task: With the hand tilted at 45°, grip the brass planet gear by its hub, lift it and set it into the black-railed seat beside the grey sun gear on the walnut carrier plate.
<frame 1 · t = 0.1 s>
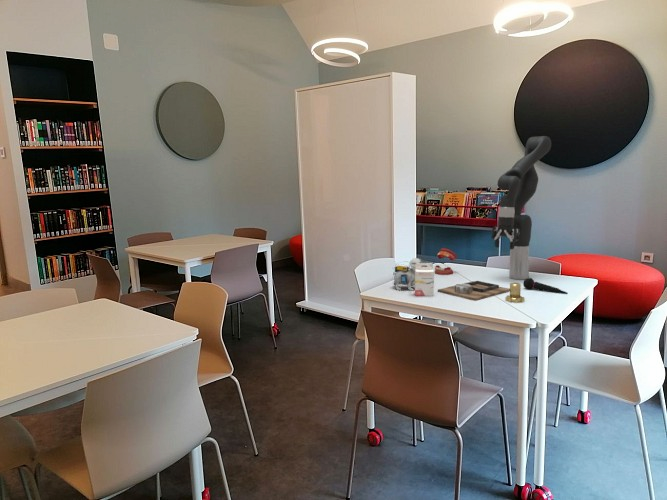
hand: (504, 248, 249), 17 cm above the table, tool pointing down, fingers open, 8 cm apart
carrier plate: (473, 291, 235), on the table
anatomical model: (444, 273, 276), on the table
robotic toy: (409, 288, 244), on the table
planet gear: (514, 300, 217), on the table
ink cartridge box: (424, 295, 231), on the table
microphone: (543, 292, 232), on the table
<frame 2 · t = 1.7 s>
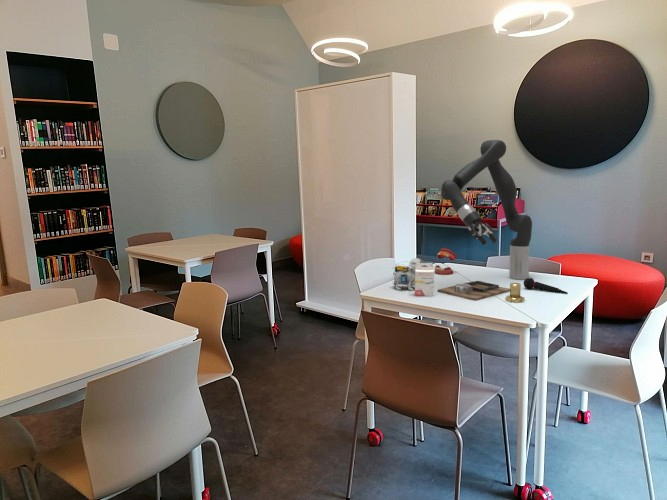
hand: (490, 242, 222), 24 cm above the table, tool tilted 45°, fingers open, 8 cm apart
nothing on the table moved.
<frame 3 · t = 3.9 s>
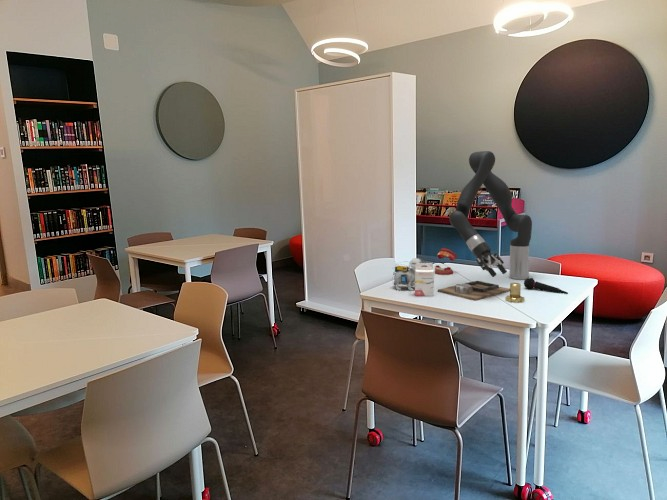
hand: (500, 274, 221), 11 cm above the table, tool tilted 45°, fingers open, 8 cm apart
nothing on the table moved.
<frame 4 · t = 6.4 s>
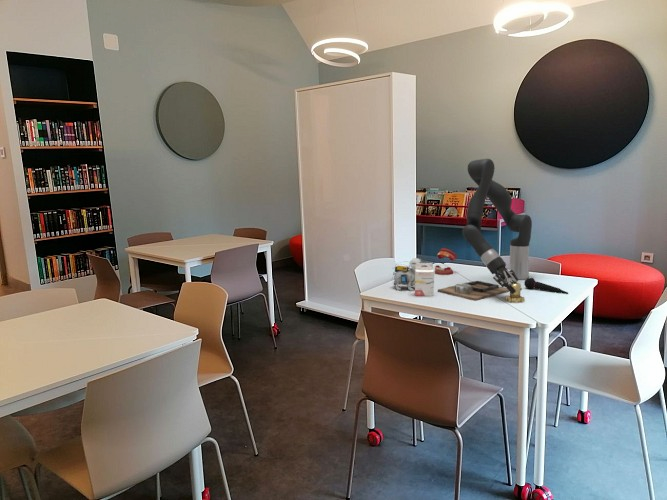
hand: (517, 291, 216), 4 cm above the table, tool tilted 45°, fingers closed on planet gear, 4 cm apart
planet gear: (514, 300, 217), on the table, touching gripper
everything else where it was.
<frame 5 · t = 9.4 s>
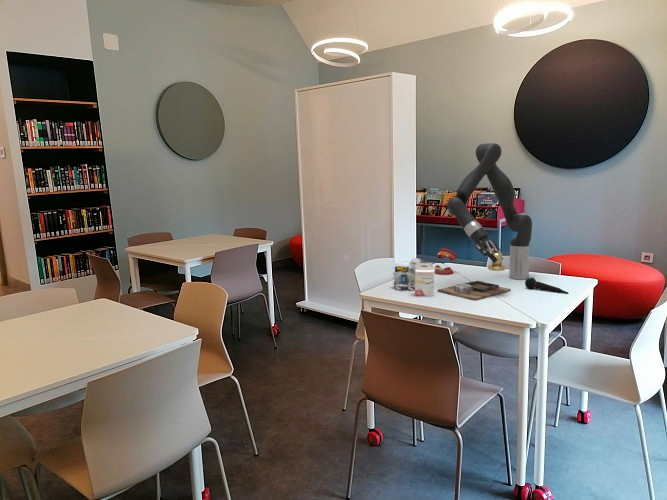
hand: (498, 260, 224), 16 cm above the table, tool tilted 45°, fingers closed on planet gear, 4 cm apart
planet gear: (496, 269, 226), point 12 cm above the table, touching gripper
everything else where it was.
when the fingers open (7 cm above the table, at t = 12.8 s): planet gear drops 2 cm, resting on carrier plate.
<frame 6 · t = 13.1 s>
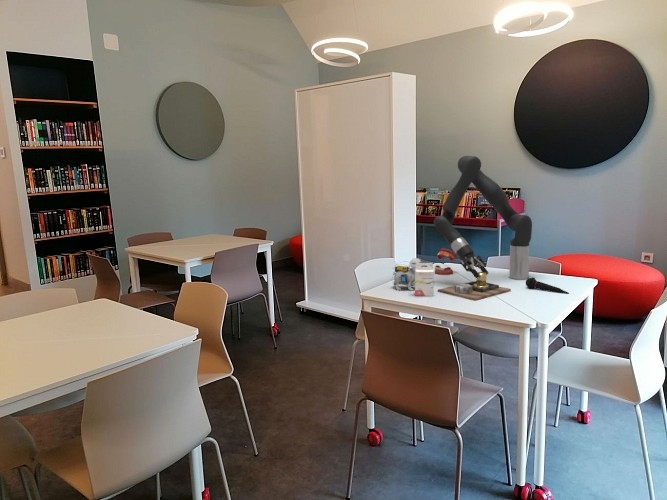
hand: (482, 275, 235), 7 cm above the table, tool tilted 45°, fingers open, 7 cm apart
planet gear: (481, 288, 236), point 1 cm above the table, touching carrier plate
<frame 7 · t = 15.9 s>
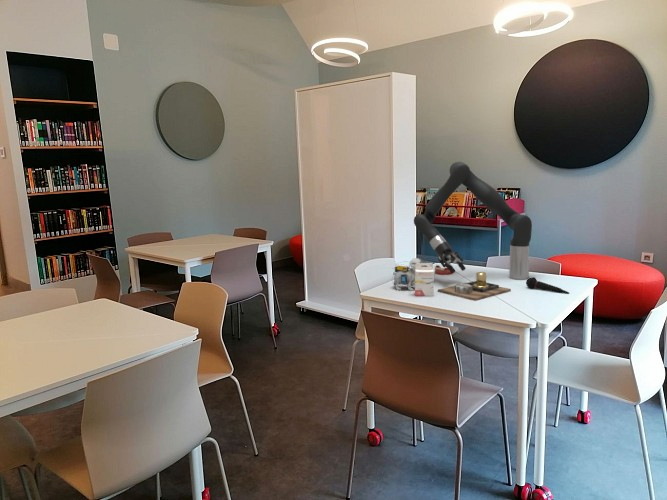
hand: (459, 271, 244), 8 cm above the table, tool tilted 45°, fingers open, 8 cm apart
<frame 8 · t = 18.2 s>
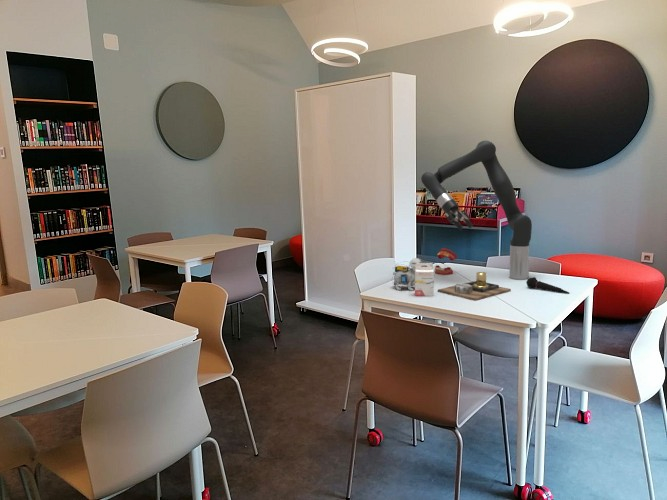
hand: (466, 227, 244), 29 cm above the table, tool tilted 45°, fingers open, 8 cm apart
at the end: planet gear 0.9 cm from the target spot on the carrier plate, point 1.0 cm above the carrier plate's base; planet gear tilted 0°; the gripper is holding nothing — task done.
